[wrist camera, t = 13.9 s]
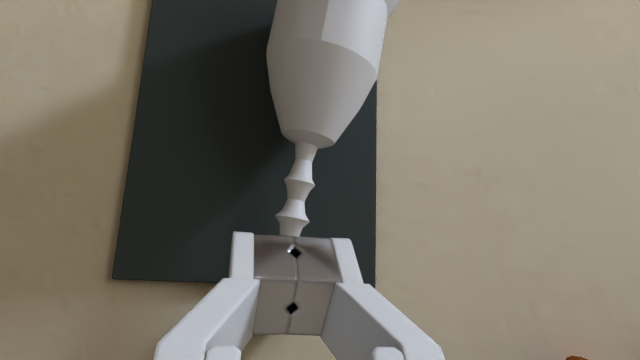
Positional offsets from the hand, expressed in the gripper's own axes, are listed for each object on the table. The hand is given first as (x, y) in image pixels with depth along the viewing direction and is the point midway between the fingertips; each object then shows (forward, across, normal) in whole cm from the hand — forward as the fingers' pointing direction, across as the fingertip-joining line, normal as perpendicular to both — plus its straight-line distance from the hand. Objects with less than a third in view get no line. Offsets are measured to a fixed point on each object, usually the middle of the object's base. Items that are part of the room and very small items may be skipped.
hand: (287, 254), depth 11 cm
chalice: (+6, -1, +9) cm, 11 cm away
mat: (+15, 0, +4) cm, 15 cm away
